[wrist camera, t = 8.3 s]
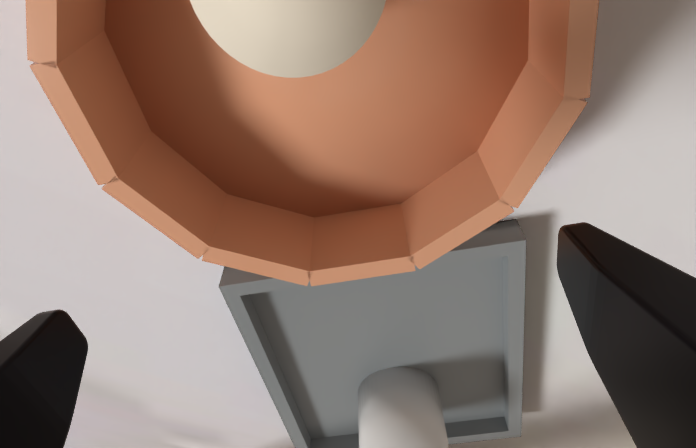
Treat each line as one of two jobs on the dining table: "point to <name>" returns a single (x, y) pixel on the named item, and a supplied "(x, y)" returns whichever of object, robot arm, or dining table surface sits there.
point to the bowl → (318, 128)
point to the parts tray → (393, 339)
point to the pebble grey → (400, 410)
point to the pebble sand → (289, 32)
